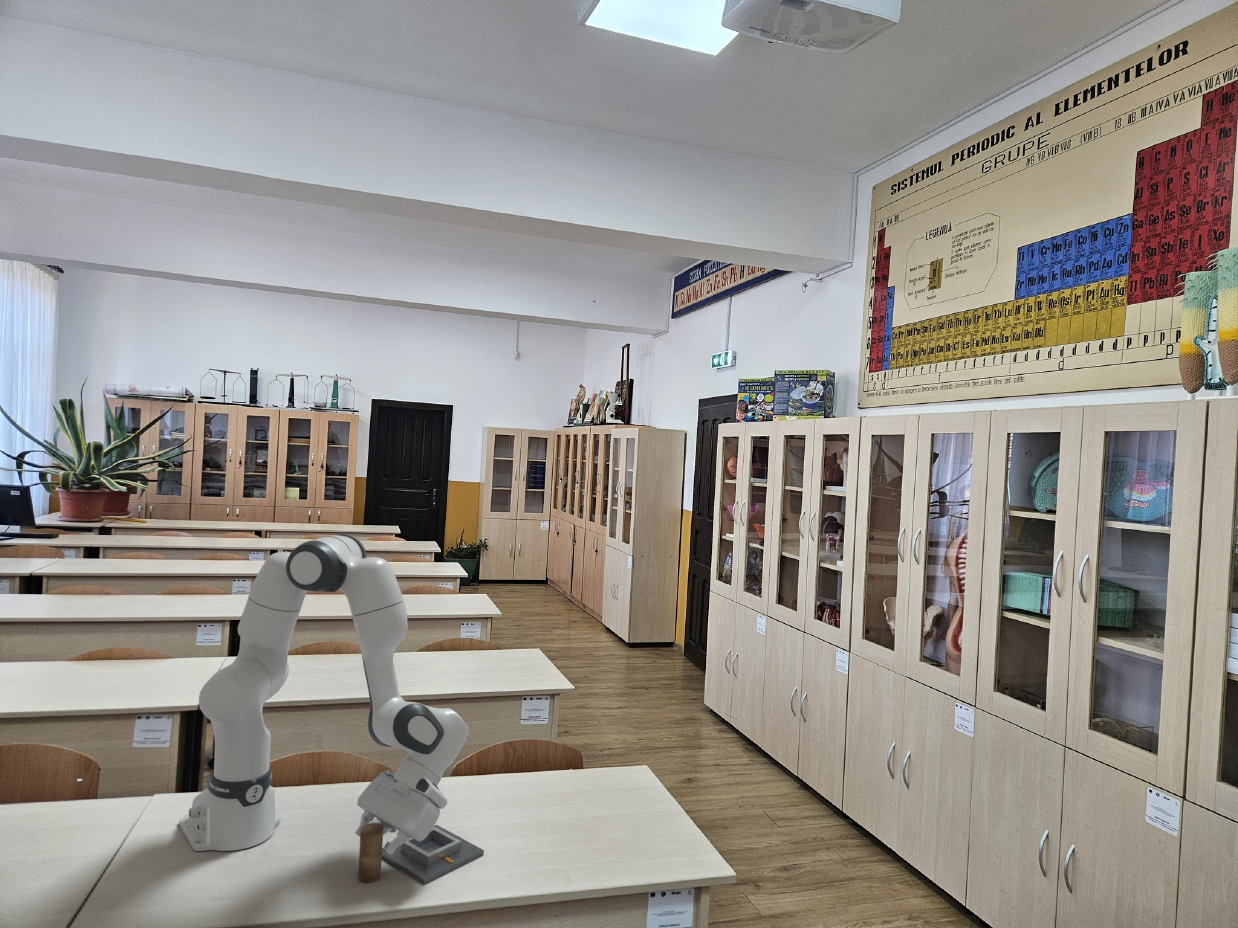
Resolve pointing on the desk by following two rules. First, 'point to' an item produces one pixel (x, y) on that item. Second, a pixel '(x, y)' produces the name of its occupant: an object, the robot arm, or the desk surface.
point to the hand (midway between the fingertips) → (372, 844)
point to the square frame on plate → (433, 855)
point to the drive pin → (370, 853)
